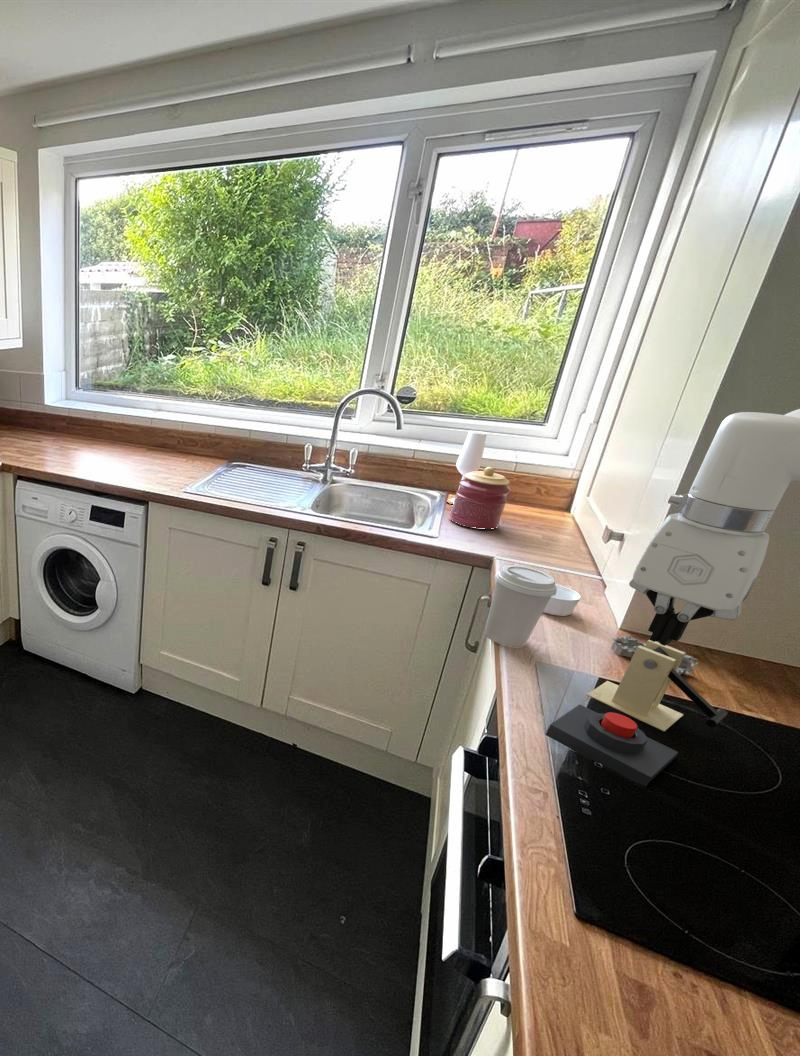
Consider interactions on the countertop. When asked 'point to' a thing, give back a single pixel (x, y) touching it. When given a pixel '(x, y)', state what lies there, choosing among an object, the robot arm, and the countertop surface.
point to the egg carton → (630, 645)
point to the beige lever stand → (644, 686)
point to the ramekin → (562, 601)
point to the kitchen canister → (480, 499)
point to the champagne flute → (471, 453)
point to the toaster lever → (696, 697)
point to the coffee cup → (517, 604)
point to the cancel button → (619, 725)
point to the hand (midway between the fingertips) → (661, 640)
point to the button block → (611, 745)
